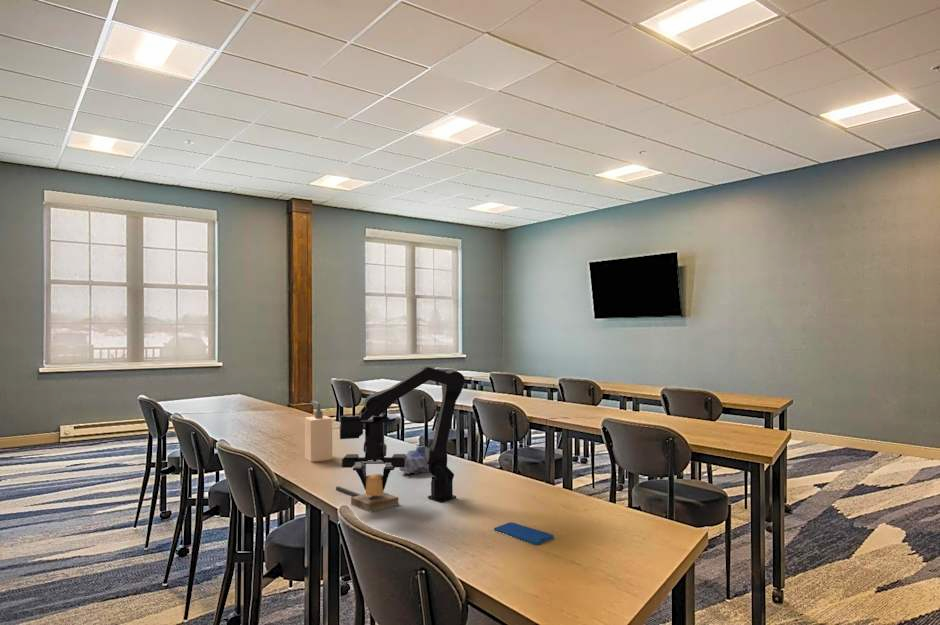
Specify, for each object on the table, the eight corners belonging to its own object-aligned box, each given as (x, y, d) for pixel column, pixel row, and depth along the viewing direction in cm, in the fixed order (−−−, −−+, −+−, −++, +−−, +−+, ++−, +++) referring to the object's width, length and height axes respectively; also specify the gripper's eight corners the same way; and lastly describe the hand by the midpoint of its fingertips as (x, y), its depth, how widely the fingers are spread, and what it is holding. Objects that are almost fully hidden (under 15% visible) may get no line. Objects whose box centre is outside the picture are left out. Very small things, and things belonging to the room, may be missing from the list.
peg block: (398, 504, 172) (398, 483, 173) (370, 511, 165) (370, 490, 166) (378, 496, 180) (378, 477, 180) (351, 504, 173) (351, 484, 173)
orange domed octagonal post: (386, 492, 173) (386, 476, 173) (372, 496, 169) (372, 479, 169) (376, 489, 176) (376, 473, 176) (362, 493, 173) (362, 476, 173)
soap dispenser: (332, 459, 229) (332, 403, 229) (310, 462, 225) (310, 405, 225) (322, 453, 240) (322, 400, 240) (302, 455, 236) (302, 401, 236)
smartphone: (510, 521, 156) (555, 535, 145) (511, 525, 156) (555, 539, 145) (491, 528, 151) (536, 543, 140) (492, 532, 151) (536, 547, 140)
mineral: (424, 442, 218) (438, 444, 210) (427, 466, 218) (441, 470, 210) (390, 451, 210) (403, 454, 202) (393, 477, 210) (406, 481, 202)
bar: (366, 500, 176) (366, 496, 176) (363, 500, 176) (363, 497, 176) (338, 489, 188) (338, 486, 188) (336, 489, 187) (336, 486, 187)
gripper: (408, 432, 181) (409, 482, 181) (349, 432, 181) (349, 482, 181) (404, 439, 170) (404, 492, 169) (341, 439, 170) (341, 492, 170)
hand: (374, 489), depth 173 cm, fingers closed on orange domed octagonal post, 5 cm apart
